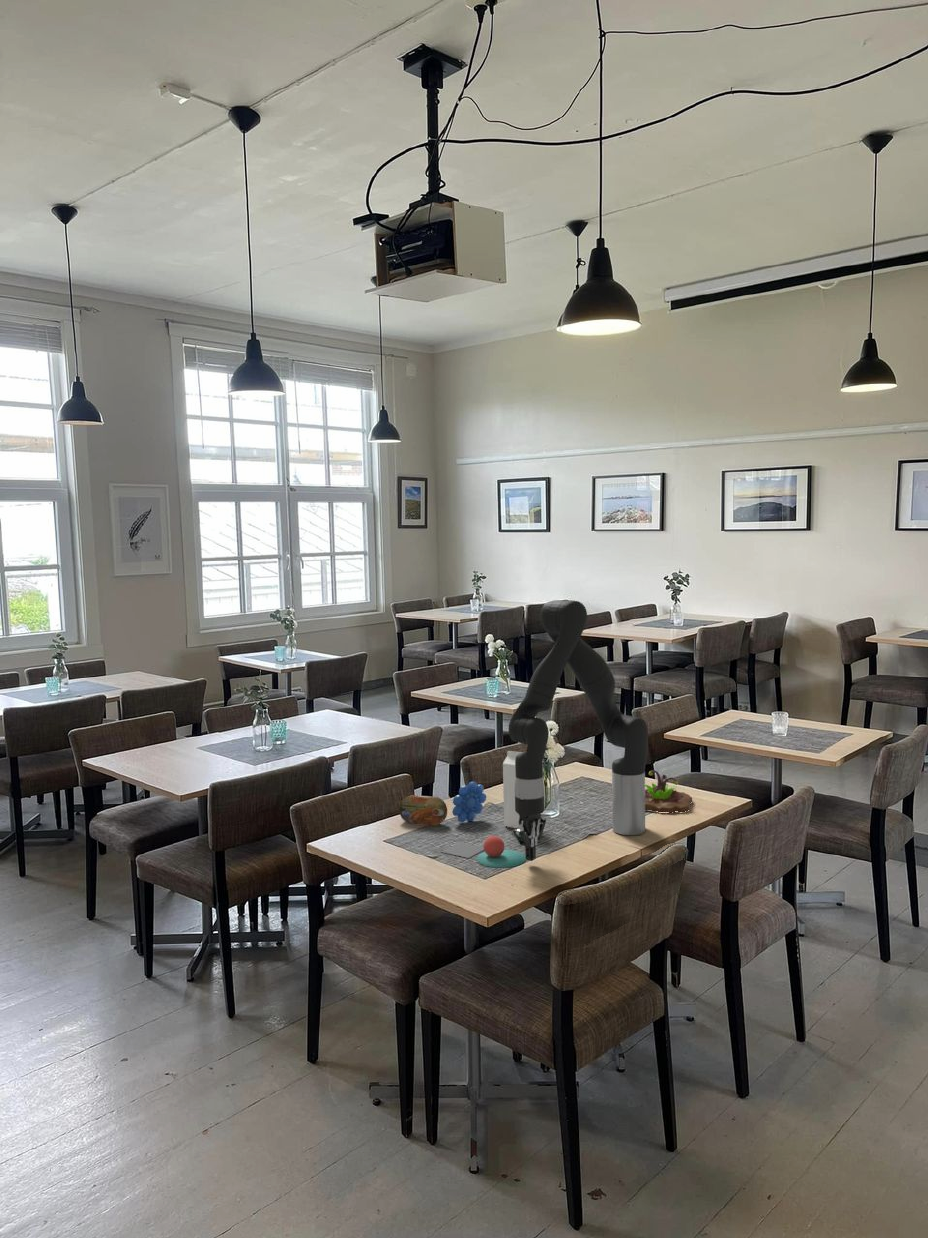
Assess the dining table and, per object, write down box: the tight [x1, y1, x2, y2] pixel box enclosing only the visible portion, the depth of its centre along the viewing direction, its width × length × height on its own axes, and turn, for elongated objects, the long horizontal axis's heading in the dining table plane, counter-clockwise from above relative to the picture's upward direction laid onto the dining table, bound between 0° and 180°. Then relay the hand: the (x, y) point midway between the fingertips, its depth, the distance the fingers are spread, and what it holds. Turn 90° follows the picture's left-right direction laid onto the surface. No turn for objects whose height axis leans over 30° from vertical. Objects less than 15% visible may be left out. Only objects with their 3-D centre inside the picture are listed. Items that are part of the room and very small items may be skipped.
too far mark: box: [440, 841, 485, 859], centre depth 236 cm, size 9×9×1 cm
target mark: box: [476, 848, 526, 869], centre depth 229 cm, size 13×13×1 cm
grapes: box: [452, 781, 487, 823], centre depth 262 cm, size 12×7×12 cm, turn 120°
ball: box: [483, 835, 505, 857], centre depth 231 cm, size 6×6×6 cm
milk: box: [502, 750, 522, 829], centre depth 256 cm, size 6×6×22 cm
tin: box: [398, 794, 448, 827], centre depth 260 cm, size 15×3×8 cm, turn 68°
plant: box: [645, 769, 693, 813], centre depth 274 cm, size 20×20×11 cm
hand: (530, 859), depth 224 cm, fingers closed
